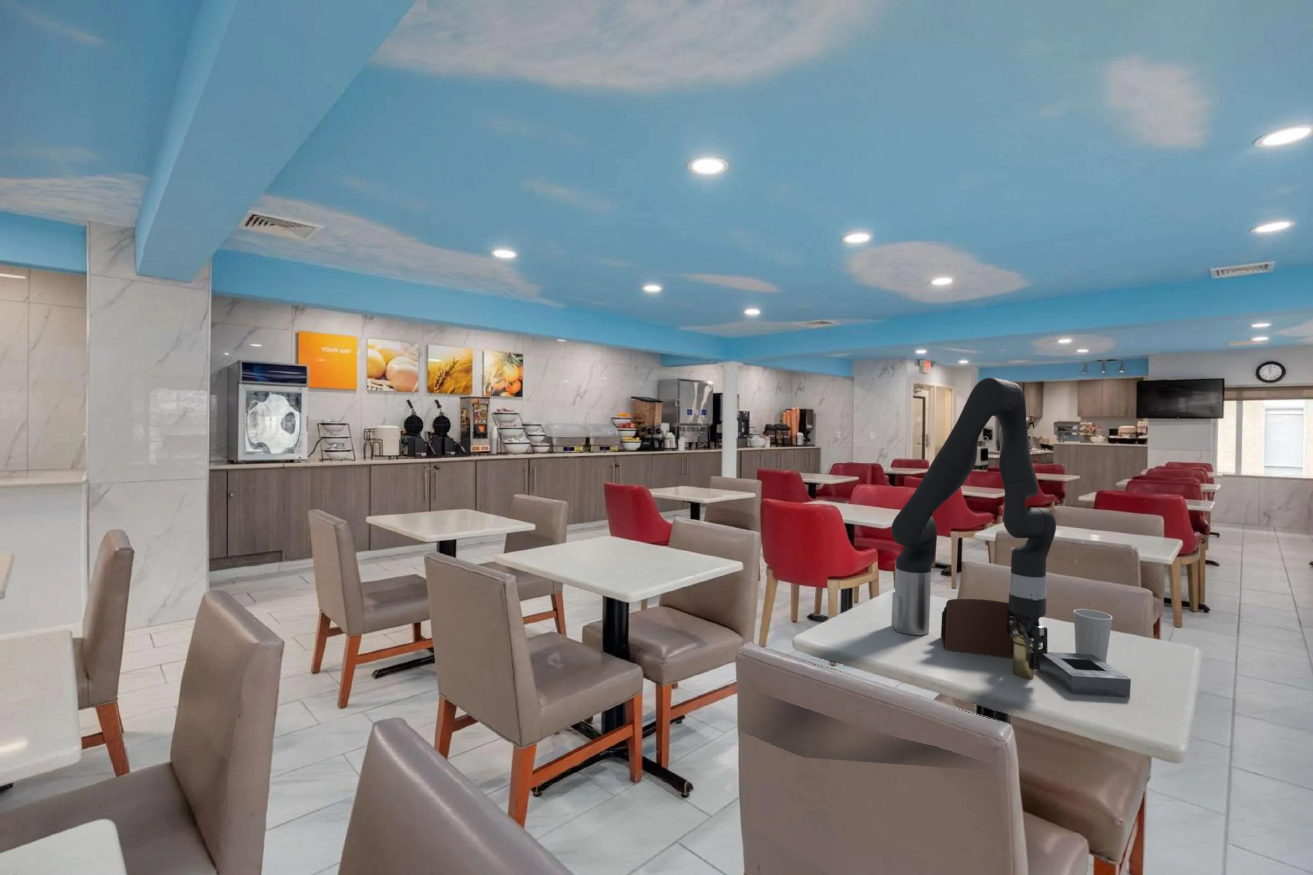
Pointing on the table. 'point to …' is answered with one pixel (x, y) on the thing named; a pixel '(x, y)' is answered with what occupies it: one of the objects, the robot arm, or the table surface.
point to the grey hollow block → (1085, 674)
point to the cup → (1092, 632)
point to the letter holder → (976, 627)
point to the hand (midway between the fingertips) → (1025, 661)
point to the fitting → (1021, 658)
